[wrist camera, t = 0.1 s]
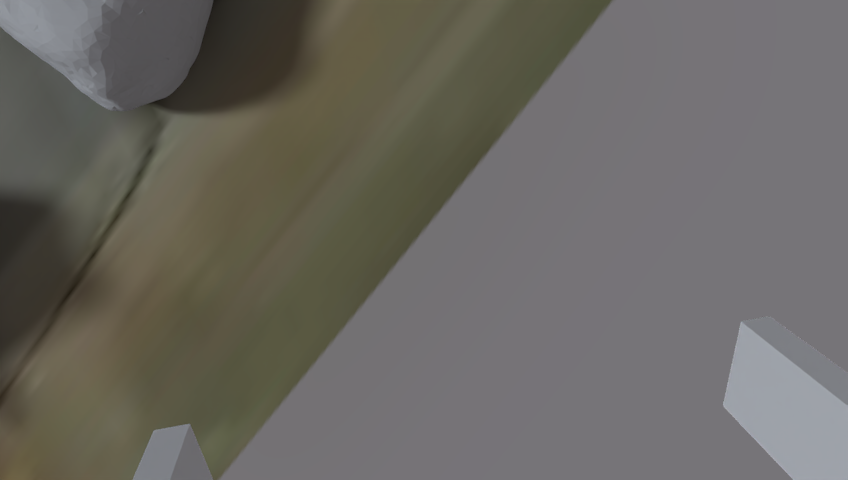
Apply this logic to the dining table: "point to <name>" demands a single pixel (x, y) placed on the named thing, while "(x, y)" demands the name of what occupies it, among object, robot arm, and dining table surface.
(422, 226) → the dining table surface
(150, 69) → the decorative stone
